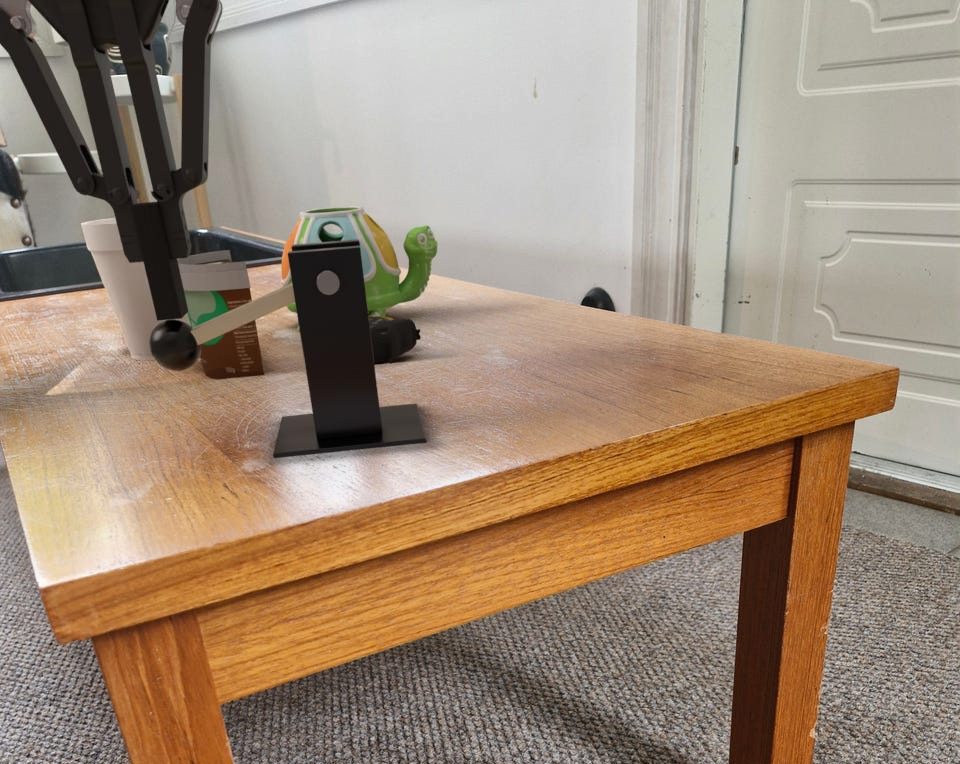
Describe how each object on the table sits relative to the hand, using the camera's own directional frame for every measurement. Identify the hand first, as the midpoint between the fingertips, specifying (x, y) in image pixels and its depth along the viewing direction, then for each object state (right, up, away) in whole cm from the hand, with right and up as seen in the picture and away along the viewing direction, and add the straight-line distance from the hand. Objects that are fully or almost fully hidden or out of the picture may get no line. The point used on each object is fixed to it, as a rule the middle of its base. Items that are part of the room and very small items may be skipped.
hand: (173, 315), depth 57 cm
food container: (-5, +5, +28) cm, 29 cm away
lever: (+5, -1, +1) cm, 6 cm away
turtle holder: (+6, +16, +47) cm, 50 cm away
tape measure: (+11, +5, +28) cm, 30 cm away
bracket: (+11, -7, +6) cm, 14 cm away
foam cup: (-14, +9, +38) cm, 41 cm away
